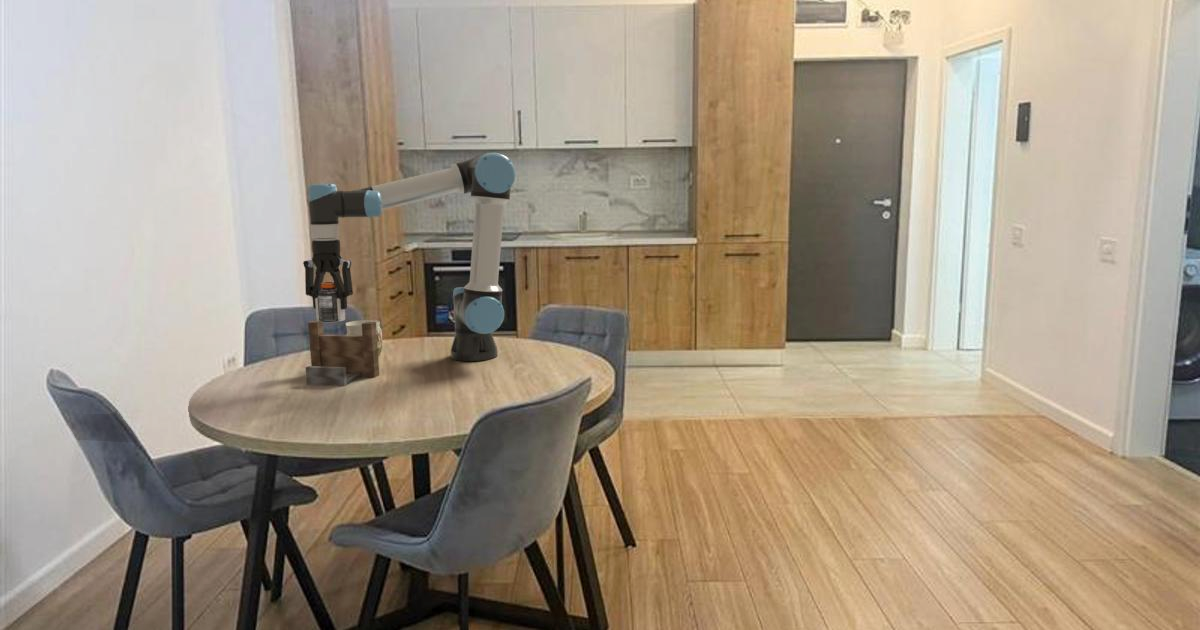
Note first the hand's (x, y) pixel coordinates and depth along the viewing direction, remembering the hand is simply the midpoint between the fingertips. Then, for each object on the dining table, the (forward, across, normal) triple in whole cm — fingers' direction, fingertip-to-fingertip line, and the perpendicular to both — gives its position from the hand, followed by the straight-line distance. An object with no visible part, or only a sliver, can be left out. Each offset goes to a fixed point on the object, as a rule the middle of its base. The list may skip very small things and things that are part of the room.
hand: (331, 320), depth 223 cm
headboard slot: (+18, 0, 0) cm, 18 cm away
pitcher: (+18, +1, -21) cm, 28 cm away
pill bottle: (+1, 0, 0) cm, 1 cm away
